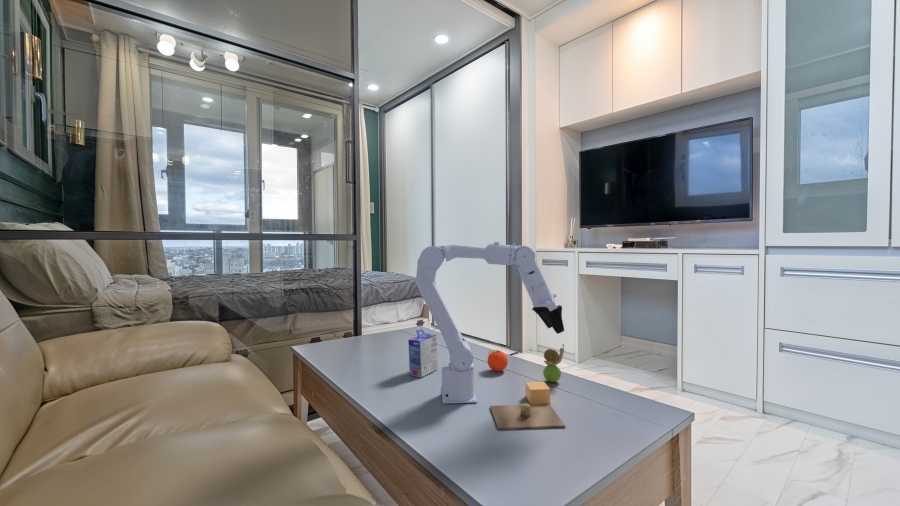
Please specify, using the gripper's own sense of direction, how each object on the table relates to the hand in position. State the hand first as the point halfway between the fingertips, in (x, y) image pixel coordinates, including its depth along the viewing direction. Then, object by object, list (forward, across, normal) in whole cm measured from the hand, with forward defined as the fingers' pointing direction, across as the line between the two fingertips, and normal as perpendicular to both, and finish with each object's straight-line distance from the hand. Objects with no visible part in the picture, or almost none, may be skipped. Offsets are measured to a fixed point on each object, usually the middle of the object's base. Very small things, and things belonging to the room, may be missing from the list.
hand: (555, 329), depth 106 cm
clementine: (+12, +24, +19) cm, 33 cm away
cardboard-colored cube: (+15, -1, +13) cm, 20 cm away
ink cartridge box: (+2, +24, +42) cm, 49 cm away
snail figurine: (+19, +12, +5) cm, 23 cm away
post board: (+13, -11, +19) cm, 25 cm away
